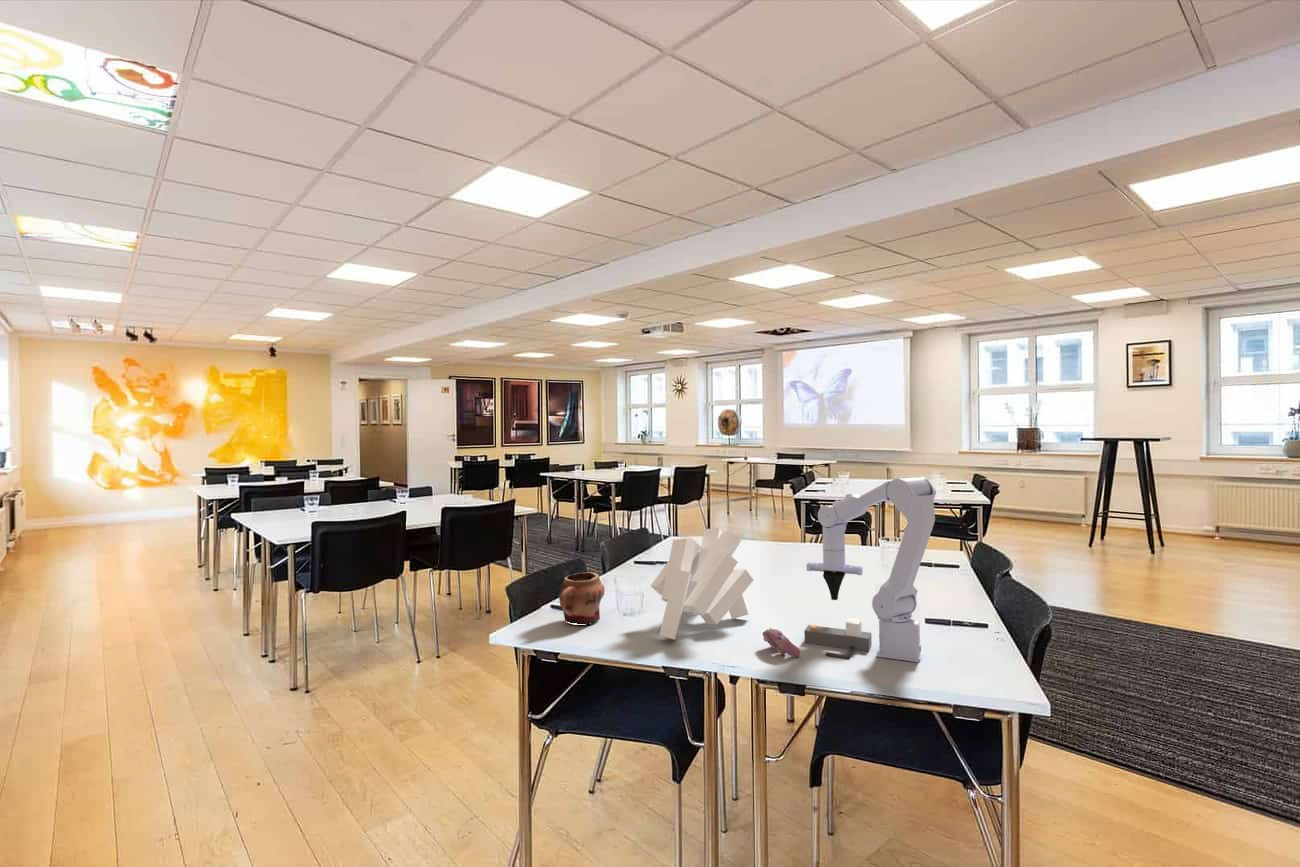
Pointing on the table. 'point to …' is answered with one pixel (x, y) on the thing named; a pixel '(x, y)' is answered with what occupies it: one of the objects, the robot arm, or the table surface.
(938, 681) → the table surface
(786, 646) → the video game controller
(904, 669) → the table surface
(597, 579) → the decorative planter
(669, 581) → the pile of blocks
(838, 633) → the power strip
